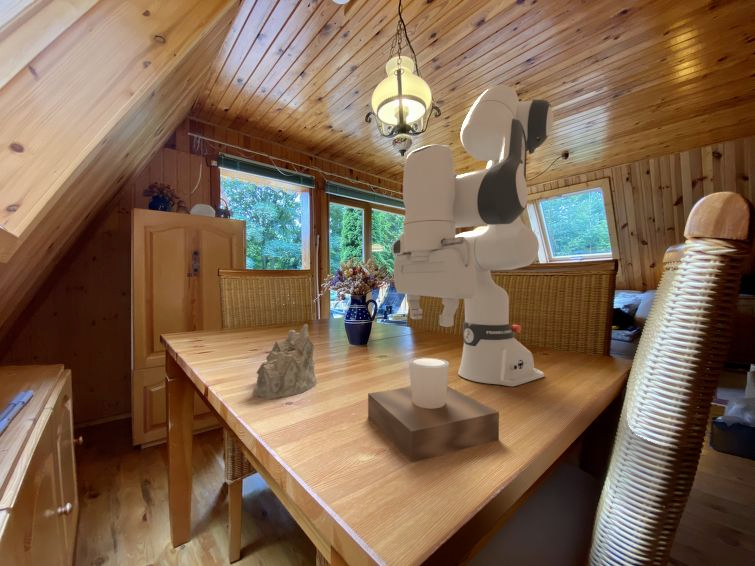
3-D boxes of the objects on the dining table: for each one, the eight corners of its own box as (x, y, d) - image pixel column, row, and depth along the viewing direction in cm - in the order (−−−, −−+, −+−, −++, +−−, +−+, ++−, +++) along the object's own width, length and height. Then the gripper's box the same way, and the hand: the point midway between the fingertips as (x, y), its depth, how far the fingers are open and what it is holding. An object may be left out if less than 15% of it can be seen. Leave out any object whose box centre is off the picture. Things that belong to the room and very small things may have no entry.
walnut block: (439, 406, 65) (439, 382, 65) (498, 443, 50) (498, 412, 50) (368, 420, 58) (368, 393, 58) (411, 467, 44) (411, 431, 44)
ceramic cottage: (293, 370, 88) (291, 317, 86) (329, 387, 76) (327, 326, 75) (236, 387, 77) (233, 327, 75) (267, 410, 65) (264, 338, 64)
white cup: (449, 411, 50) (450, 368, 50) (406, 408, 52) (407, 365, 51) (448, 396, 57) (448, 357, 57) (410, 393, 58) (410, 355, 58)
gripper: (486, 235, 46) (487, 329, 46) (415, 247, 65) (416, 314, 65) (451, 233, 43) (451, 333, 44) (387, 246, 62) (388, 316, 62)
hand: (430, 322), depth 54 cm, fingers open, 8 cm apart
